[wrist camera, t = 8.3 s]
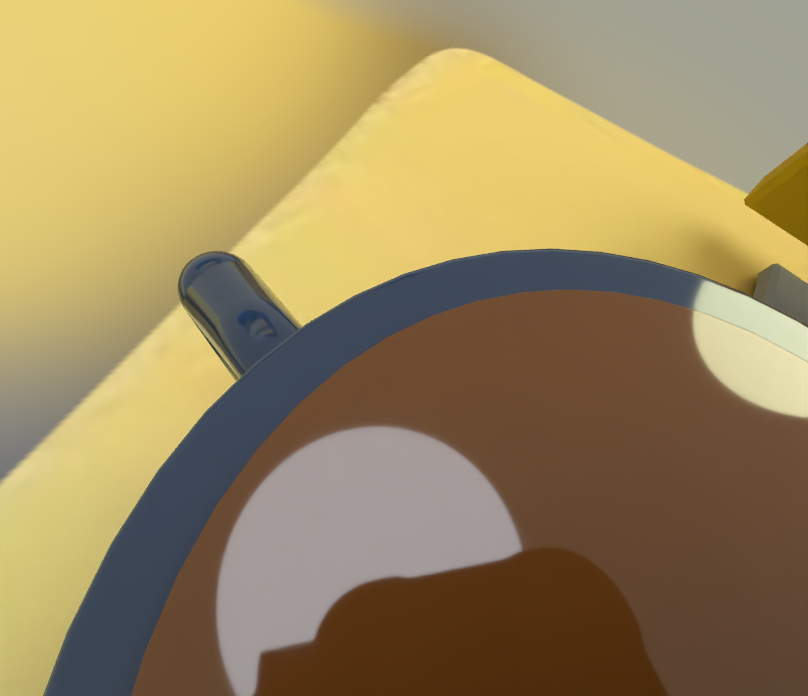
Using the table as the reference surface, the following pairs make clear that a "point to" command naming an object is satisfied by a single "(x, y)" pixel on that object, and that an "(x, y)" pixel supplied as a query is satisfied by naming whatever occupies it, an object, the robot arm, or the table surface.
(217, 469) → the mug
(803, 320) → the toy computer monitor
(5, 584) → the table surface
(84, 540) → the table surface
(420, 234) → the table surface
